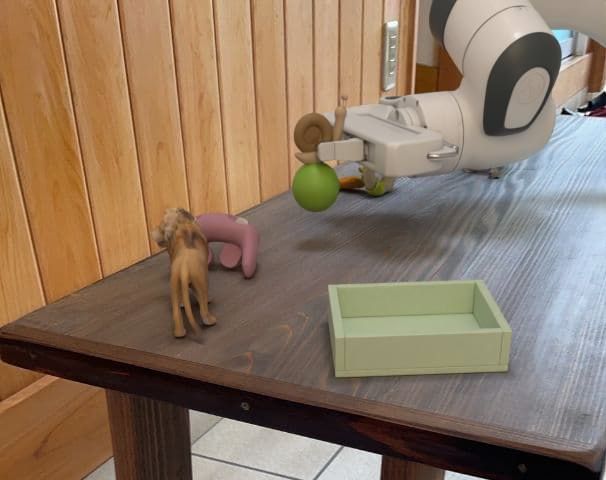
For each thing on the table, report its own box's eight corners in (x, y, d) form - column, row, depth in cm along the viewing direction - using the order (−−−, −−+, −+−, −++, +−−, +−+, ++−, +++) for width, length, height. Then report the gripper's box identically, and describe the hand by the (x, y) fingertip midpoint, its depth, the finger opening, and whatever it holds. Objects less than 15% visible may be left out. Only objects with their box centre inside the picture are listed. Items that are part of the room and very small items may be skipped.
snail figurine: (354, 213, 98) (357, 97, 91) (302, 219, 96) (301, 101, 89) (336, 202, 102) (337, 90, 95) (285, 208, 100) (283, 94, 93)
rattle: (373, 181, 125) (375, 94, 119) (408, 192, 120) (412, 102, 113) (331, 189, 122) (331, 100, 115) (365, 201, 117) (367, 108, 110)
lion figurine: (156, 293, 89) (145, 204, 84) (206, 288, 90) (198, 199, 85) (176, 347, 78) (164, 248, 73) (233, 340, 79) (226, 241, 74)
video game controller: (261, 282, 96) (264, 217, 95) (252, 276, 91) (255, 208, 90) (177, 279, 97) (179, 215, 96) (164, 273, 93) (166, 206, 92)
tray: (479, 315, 82) (482, 279, 80) (507, 371, 72) (512, 331, 70) (328, 321, 82) (327, 284, 80) (335, 377, 72) (335, 337, 70)
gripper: (465, 184, 93) (349, 200, 89) (383, 149, 108) (281, 161, 104) (470, 120, 89) (349, 134, 85) (384, 93, 105) (279, 104, 101)
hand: (311, 149), depth 95 cm, fingers closed on snail figurine
